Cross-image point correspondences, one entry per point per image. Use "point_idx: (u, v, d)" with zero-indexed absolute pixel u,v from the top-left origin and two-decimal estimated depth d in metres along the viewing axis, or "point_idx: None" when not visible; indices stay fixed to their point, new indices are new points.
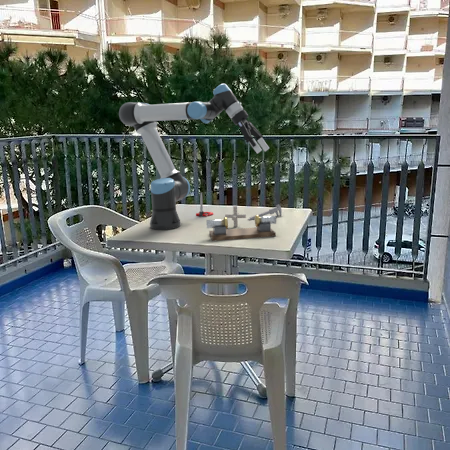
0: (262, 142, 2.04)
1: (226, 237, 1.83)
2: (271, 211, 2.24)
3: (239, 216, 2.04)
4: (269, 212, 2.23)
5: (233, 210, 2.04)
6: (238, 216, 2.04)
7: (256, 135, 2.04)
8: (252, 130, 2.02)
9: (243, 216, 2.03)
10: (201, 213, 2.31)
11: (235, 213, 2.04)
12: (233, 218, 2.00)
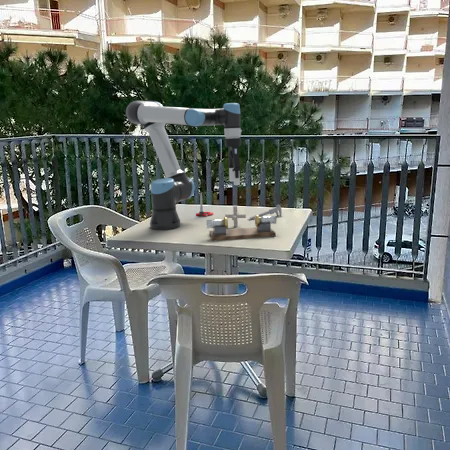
0: (232, 172, 2.07)
1: (226, 237, 1.83)
2: (271, 211, 2.24)
3: (239, 216, 2.04)
4: (269, 212, 2.23)
5: (233, 210, 2.04)
6: (238, 216, 2.04)
7: (232, 163, 2.05)
8: None
9: (243, 216, 2.03)
10: (201, 213, 2.31)
11: (235, 213, 2.04)
12: (233, 218, 2.00)
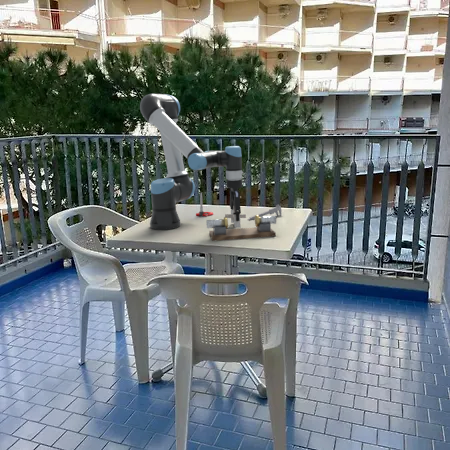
0: None
1: (226, 237, 1.83)
2: (271, 211, 2.24)
3: None
4: (269, 212, 2.23)
5: (233, 210, 2.04)
6: None
7: (233, 205, 2.08)
8: None
9: (243, 216, 2.03)
10: (201, 213, 2.31)
11: None
12: (233, 218, 2.00)
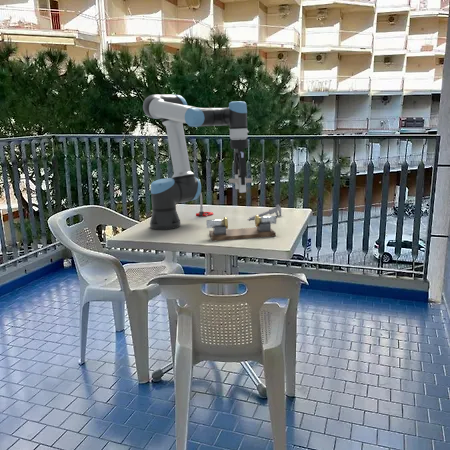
0: None
1: (226, 237, 1.83)
2: (271, 211, 2.24)
3: None
4: (268, 212, 2.23)
5: (238, 174, 1.84)
6: None
7: None
8: None
9: (249, 180, 1.83)
10: (201, 213, 2.31)
11: None
12: (238, 182, 1.80)
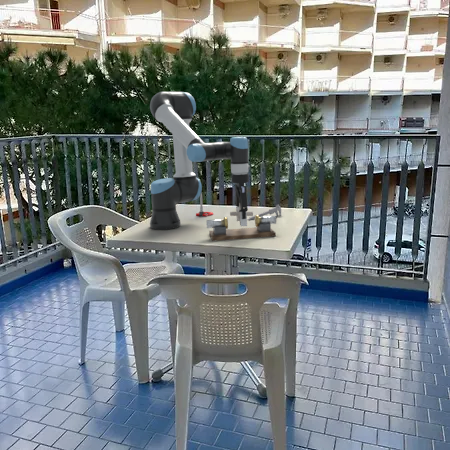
0: None
1: (226, 237, 1.83)
2: (271, 211, 2.23)
3: None
4: (268, 212, 2.23)
5: (239, 207, 1.87)
6: None
7: (239, 201, 1.91)
8: None
9: (250, 214, 1.86)
10: (201, 213, 2.31)
11: None
12: (239, 216, 1.83)
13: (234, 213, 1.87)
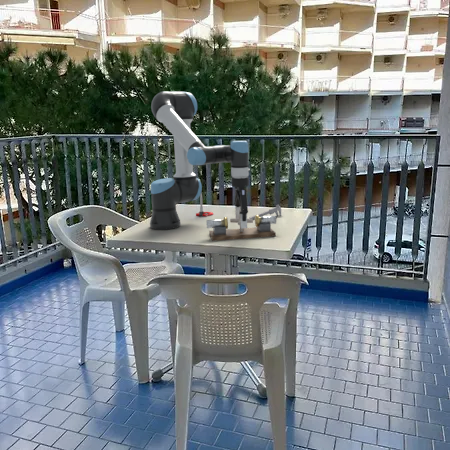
0: None
1: (226, 237, 1.83)
2: (271, 211, 2.23)
3: None
4: (268, 212, 2.23)
5: (239, 214, 1.87)
6: None
7: (238, 203, 1.92)
8: None
9: (250, 221, 1.87)
10: (201, 213, 2.31)
11: None
12: (239, 223, 1.84)
13: (234, 220, 1.88)
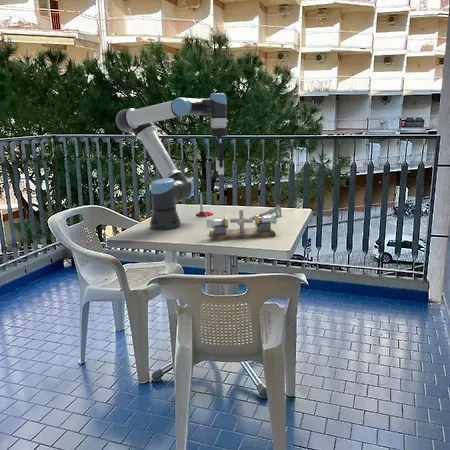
0: None
1: (226, 237, 1.83)
2: (271, 211, 2.23)
3: (245, 221, 1.87)
4: (268, 212, 2.23)
5: (239, 214, 1.87)
6: (244, 221, 1.87)
7: None
8: None
9: (250, 221, 1.87)
10: (201, 213, 2.31)
11: (241, 217, 1.87)
12: (239, 223, 1.84)
13: (234, 220, 1.88)
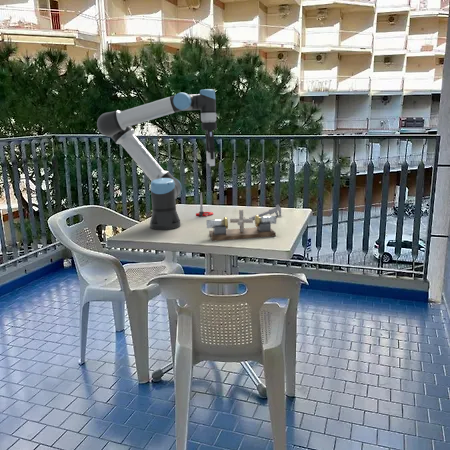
0: None
1: (226, 237, 1.83)
2: (271, 211, 2.23)
3: (245, 221, 1.87)
4: (268, 212, 2.23)
5: (239, 214, 1.87)
6: (244, 221, 1.87)
7: (209, 147, 2.19)
8: None
9: (250, 221, 1.87)
10: (201, 213, 2.31)
11: (241, 217, 1.87)
12: (239, 223, 1.84)
13: (234, 220, 1.88)
